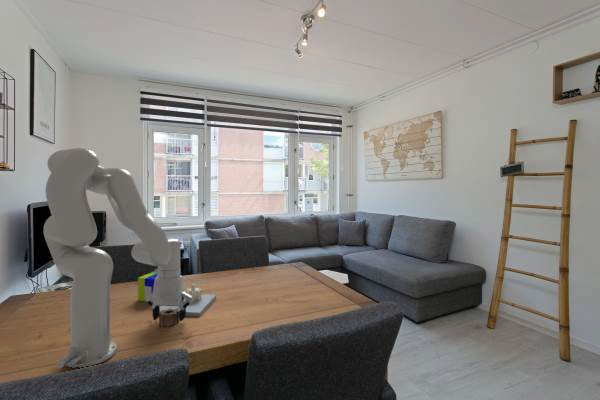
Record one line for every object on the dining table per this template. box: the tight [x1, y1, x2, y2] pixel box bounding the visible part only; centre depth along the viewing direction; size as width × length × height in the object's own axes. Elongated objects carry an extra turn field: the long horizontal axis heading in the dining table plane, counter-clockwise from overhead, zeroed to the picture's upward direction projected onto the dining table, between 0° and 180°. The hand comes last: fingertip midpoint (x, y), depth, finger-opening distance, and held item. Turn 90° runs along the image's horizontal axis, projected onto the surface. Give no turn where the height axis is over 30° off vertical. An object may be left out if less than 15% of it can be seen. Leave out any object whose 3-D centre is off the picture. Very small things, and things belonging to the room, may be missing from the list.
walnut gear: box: [158, 308, 180, 328], centre depth 108 cm, size 6×6×4 cm
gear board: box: [159, 283, 217, 317], centre depth 124 cm, size 19×18×8 cm
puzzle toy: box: [137, 271, 157, 302], centre depth 133 cm, size 10×10×10 cm
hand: (169, 319), depth 108 cm, fingers open, 9 cm apart
